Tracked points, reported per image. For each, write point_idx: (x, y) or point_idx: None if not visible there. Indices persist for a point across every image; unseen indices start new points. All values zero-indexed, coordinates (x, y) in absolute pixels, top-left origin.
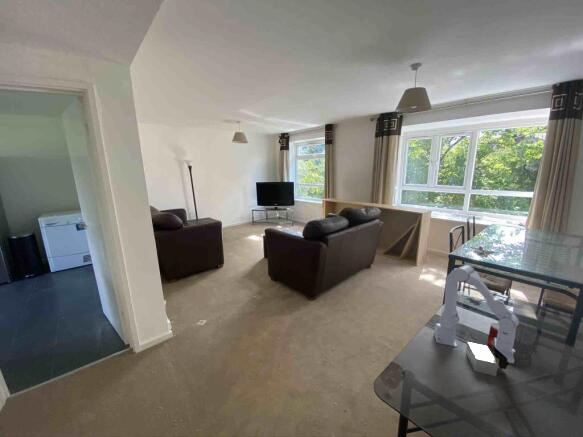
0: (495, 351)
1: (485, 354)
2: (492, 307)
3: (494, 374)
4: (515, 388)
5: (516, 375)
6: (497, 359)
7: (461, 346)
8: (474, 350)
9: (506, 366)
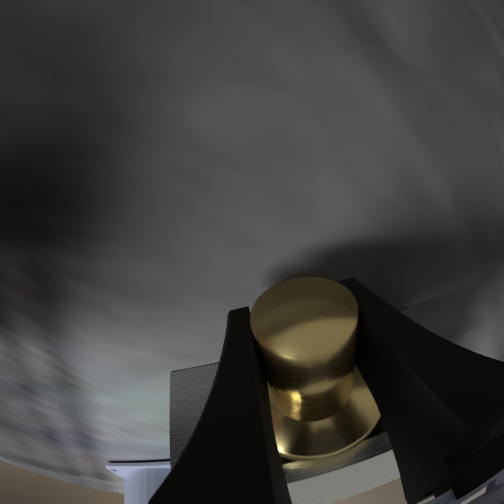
0: (289, 494)
1: (361, 478)
2: None
3: None
4: (488, 198)
5: (320, 134)
6: (332, 403)
7: (155, 447)
8: (332, 500)
9: (382, 304)
